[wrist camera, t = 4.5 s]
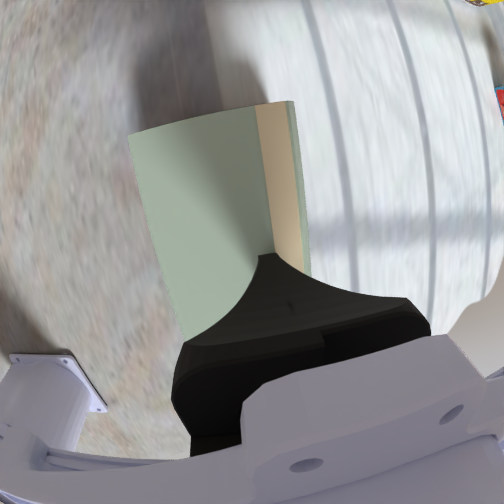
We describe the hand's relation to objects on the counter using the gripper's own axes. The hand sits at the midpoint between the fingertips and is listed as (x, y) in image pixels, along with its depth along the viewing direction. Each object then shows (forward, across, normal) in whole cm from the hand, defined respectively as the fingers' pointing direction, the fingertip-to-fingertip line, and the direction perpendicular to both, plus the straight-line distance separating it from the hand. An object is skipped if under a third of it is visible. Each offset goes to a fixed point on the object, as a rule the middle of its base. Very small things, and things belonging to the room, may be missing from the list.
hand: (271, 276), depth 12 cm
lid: (+2, +2, 0) cm, 2 cm away
